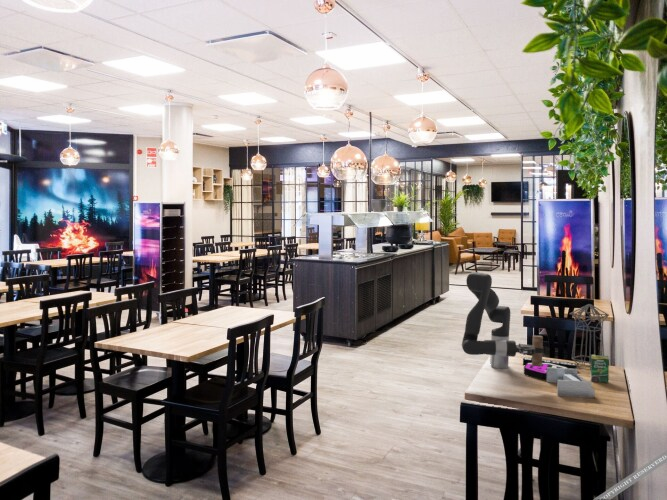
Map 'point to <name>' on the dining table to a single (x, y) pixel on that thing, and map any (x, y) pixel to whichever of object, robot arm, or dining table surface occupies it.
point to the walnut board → (537, 357)
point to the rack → (569, 383)
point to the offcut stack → (569, 377)
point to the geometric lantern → (587, 331)
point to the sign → (544, 367)
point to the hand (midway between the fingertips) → (542, 350)
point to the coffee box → (599, 368)
